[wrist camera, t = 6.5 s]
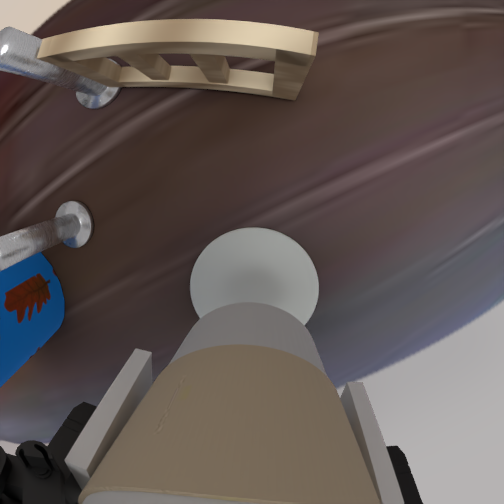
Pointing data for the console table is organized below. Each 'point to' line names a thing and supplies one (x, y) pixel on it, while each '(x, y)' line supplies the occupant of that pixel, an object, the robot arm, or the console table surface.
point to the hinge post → (49, 69)
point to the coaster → (255, 273)
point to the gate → (187, 42)
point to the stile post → (48, 234)
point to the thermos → (27, 311)
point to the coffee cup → (237, 423)
